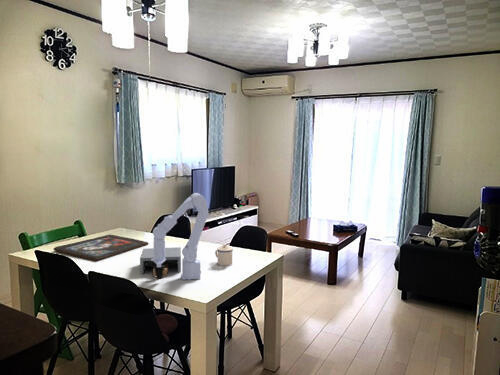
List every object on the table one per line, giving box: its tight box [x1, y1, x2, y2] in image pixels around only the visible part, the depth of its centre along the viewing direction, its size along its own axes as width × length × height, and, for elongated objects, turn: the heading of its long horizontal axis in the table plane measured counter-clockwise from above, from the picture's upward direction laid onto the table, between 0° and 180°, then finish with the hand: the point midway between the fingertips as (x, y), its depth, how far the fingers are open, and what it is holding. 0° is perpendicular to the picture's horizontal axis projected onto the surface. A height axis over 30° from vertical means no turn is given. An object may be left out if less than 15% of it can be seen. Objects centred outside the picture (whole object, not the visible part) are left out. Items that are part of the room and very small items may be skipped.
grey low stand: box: [139, 246, 182, 275], centre depth 204 cm, size 21×18×9 cm
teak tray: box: [152, 262, 169, 278], centre depth 198 cm, size 7×16×6 cm, turn 11°
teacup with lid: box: [214, 243, 233, 267], centre depth 214 cm, size 12×9×12 cm
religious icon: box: [52, 234, 149, 262], centre depth 241 cm, size 40×45×3 cm
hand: (159, 276), depth 186 cm, fingers open, 7 cm apart
